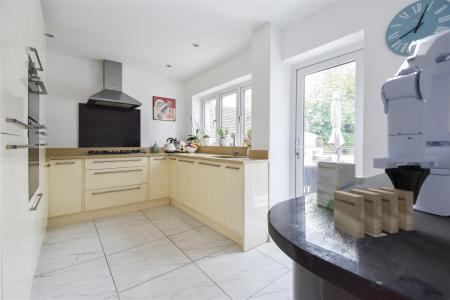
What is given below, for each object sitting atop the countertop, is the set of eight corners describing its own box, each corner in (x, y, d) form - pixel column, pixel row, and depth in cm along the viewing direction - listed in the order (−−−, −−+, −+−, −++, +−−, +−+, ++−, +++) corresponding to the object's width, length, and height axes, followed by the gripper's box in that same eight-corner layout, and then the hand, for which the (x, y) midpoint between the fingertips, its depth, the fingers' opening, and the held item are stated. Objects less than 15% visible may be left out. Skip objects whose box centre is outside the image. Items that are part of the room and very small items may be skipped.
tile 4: (341, 227, 40) (340, 190, 40) (364, 237, 35) (363, 196, 35) (334, 228, 40) (333, 191, 40) (357, 238, 35) (356, 196, 35)
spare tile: (356, 224, 41) (356, 188, 41) (381, 234, 36) (381, 193, 36) (350, 225, 40) (349, 189, 41) (374, 235, 36) (373, 194, 36)
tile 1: (386, 221, 43) (385, 187, 43) (413, 229, 38) (413, 191, 38) (380, 221, 42) (379, 187, 43) (407, 230, 38) (406, 192, 38)
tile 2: (371, 223, 42) (371, 188, 42) (398, 232, 37) (397, 193, 37) (365, 223, 41) (364, 188, 42) (391, 233, 37) (390, 193, 37)
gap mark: (356, 223, 42) (356, 223, 42) (386, 235, 36) (386, 234, 36) (346, 225, 41) (346, 224, 41) (375, 237, 35) (375, 236, 35)
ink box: (316, 204, 57) (315, 161, 57) (333, 202, 58) (332, 160, 58) (338, 213, 49) (337, 162, 49) (357, 211, 50) (356, 162, 50)
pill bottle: (371, 208, 52) (370, 177, 52) (351, 207, 53) (351, 177, 53) (363, 204, 56) (362, 175, 56) (345, 203, 57) (345, 175, 57)
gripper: (409, 137, 47) (411, 197, 47) (358, 136, 43) (360, 202, 43) (450, 134, 40) (452, 204, 40) (394, 133, 36) (395, 211, 36)
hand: (407, 204), depth 41 cm, fingers closed
